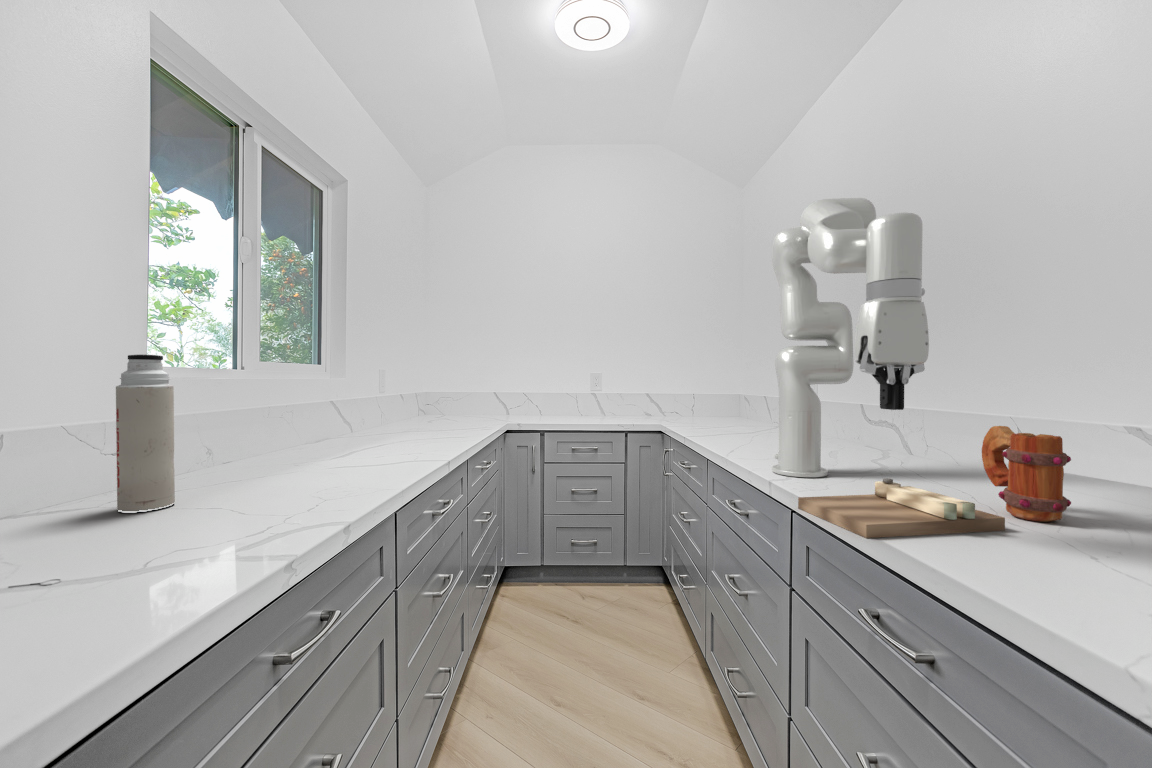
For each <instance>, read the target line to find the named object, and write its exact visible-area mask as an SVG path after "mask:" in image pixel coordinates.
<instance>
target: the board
mask: <svg viewBox="0 0 1152 768" xmlns="http://www.w3.org/2000/svg"><path fill="white" fill-rule="evenodd" d="M797 503H798V507H797V508H798V509H799V510H801V511H802V512H805V513H807V514H810V515H812V516H814V517H817V518H820V519H822V520H823V521H826V522H828V523H831V524H833V525H835V526H838V527H840V528H841V529H842V528H843V529H844V530H846V531H848V532H851V533H853V534H856V535H858V536H860V537H863V538H865V539H875V538H893V537H894V538H895V537H913V536H914V537H915V536H929V535H947V534H948V535H949V534H963V533H965V534H966V533H983V532H985V533H987V532H1002V531H1005V530H1006V518H1005V517H1003V516H1001V515H997V514H993V513H989V512H986V511H982V510H979V509H975V519H967V518H962V517H959V516H957V519H956V520H950V519H945V518H942V517H939V516H936V515H933V514H930V513H927V512H924V511H921V510H918V509H915V508H912V507H909V506H905V505H902V504H899V503H896V502H893V501H890V500H887V498H885V497H880V496H877V495H875V493H874V494H854V495H853V494H850V495H847V494H845V495H826V496H825V495H824V496H823V495H822V496H803V497H800V496H799V497H798V500H797Z"/></svg>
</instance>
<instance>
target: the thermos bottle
mask: <svg viewBox="0 0 1152 768" xmlns="http://www.w3.org/2000/svg"><path fill="white" fill-rule="evenodd" d="M127 360H128V362H127V363H126V365H127V368H126V370H125V371H124V372H121V373H120V377H119V380H120V384H119V385H116V386H115V425H116V426H115V427H116V428H115V430H116V434H115V435H116V439H115V440H116V441H115V442H116V446H115V447H116V501H117V502H116V503H117V504H116V508H117V509H118V510H122V511H139V510H148V509H155V508H159V507H164V506H167V505H170V504H172V503H174V502H175V503H176V495H175V494H176V491H175V488H176V487H175V486H176V485H175V482H176V481H175V479H176V478H175V462H174V461H175V460H174V458H175V457H174V456H175V412H174V411H175V407H174V406H175V403H174V401H175V399H174V398H175V397H174V396H175V395H174V393H175V391H174V385H172V384H170V382H169V381H170V380H171V379H170V376H169V373H168V372H166V371H164V370H163V363H162V361H163V360H164V356H163V355H158V354H128V355H127ZM117 509H116V510H117Z"/></svg>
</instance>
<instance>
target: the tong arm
mask: <svg viewBox="0 0 1152 768" xmlns="http://www.w3.org/2000/svg"><path fill="white" fill-rule="evenodd" d="M874 494H875V495H877V496H880V497H885V498H887V500H890V501H893V502H896V503H899V504H902V505H905V506H909V507H912V508H915V509H918V510H921V511H924V512H927V513H930V514H933V515H936V516H939V517H942V518H945V519H950V520H956V519H957V504H954V503H951V502H947V501H944V500H940V499H937V498H934V497H930V496H927V495H923V494H920V493H916V492H913V491H909V490H906V489H902V488H901V484H900V483H898V482H894V481H893V483H883V480H882V481H879V480H878V481H874Z"/></svg>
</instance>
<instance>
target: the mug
mask: <svg viewBox="0 0 1152 768" xmlns="http://www.w3.org/2000/svg"><path fill="white" fill-rule="evenodd" d="M1063 450H1064V449H1063V438H1062V437H1061V436H1060V435H1054V434H1053V435H1052V434H1043V433H1040V434H1036V435H1035V434H1034V433H1030V432H1017V433H1015V432H1014V431H1013V430H1012V429H1011V428H1010V427H1009V426H1006V425H994V426H993V425H992V427H990V428H989V429H988V431H987V432H986V433H985V436H983V440H982V447H981V460H982V463H983V464H982V465H983V469H984V471H985V473H986V475H987V477H988V479H989V480H990V482H991V483H992V485H993V486H994V487H1005V488H1004V489H1003V490H1000V491H999V492H998V497H999V498H1000V499H1002V500H1003V501H1004V503H1005V509H1006V512H1008V513H1009V514H1011V516H1013V517H1016V518H1019V519H1021V520H1026V521H1032V522H1038V523H1039V522H1042V523H1049V522H1054V521H1060V520H1061V519H1063V512H1065V511H1067V509H1068V508H1069V507H1070V505H1072V501H1071V500H1070V499H1069V498H1067V497H1066V496H1064V494H1063V493H1064V492H1063V491H1064V475H1065V474H1064V472H1065V471H1064V466H1066V465H1067V464H1068V463H1070V461H1072V458H1071V456H1070V455H1068V454H1066V452H1064V451H1063ZM1005 459H1006V460H1008V464H1007V465H1008V467H1007V465H1006V463H1005Z"/></svg>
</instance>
